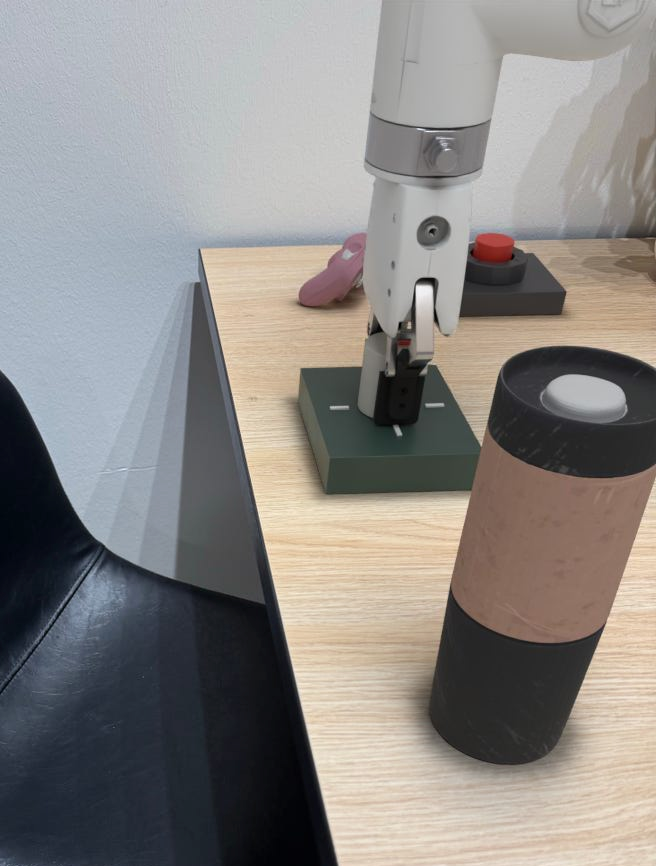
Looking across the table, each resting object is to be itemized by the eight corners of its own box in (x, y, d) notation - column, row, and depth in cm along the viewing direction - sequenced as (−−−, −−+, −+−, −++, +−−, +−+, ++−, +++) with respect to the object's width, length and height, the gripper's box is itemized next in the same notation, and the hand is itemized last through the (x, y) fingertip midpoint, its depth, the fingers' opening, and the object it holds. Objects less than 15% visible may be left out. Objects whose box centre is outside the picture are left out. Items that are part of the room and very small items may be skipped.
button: (504, 250, 101) (508, 232, 100) (515, 264, 98) (519, 245, 97) (468, 251, 101) (471, 233, 100) (478, 265, 98) (481, 246, 97)
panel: (297, 401, 85) (300, 365, 83) (430, 398, 85) (436, 362, 83) (325, 494, 74) (330, 455, 72) (477, 489, 75) (485, 451, 73)
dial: (362, 421, 76) (371, 353, 73) (352, 393, 79) (361, 327, 76) (422, 420, 76) (434, 353, 73) (409, 392, 80) (420, 326, 76)
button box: (528, 274, 106) (537, 234, 103) (561, 314, 98) (572, 272, 96) (412, 276, 105) (418, 236, 103) (436, 317, 98) (443, 275, 95)
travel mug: (395, 717, 57) (461, 382, 44) (472, 652, 61) (553, 328, 48) (519, 792, 53) (631, 446, 40) (592, 717, 57) (716, 382, 44)
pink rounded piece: (330, 328, 99) (369, 269, 94) (291, 300, 99) (329, 239, 94) (362, 292, 106) (400, 234, 101) (326, 265, 106) (363, 207, 101)
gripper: (524, 186, 60) (466, 462, 72) (450, 109, 73) (412, 355, 84) (395, 188, 59) (358, 465, 71) (344, 111, 72) (320, 357, 84)
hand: (387, 403), depth 78 cm, fingers closed on dial, 4 cm apart
